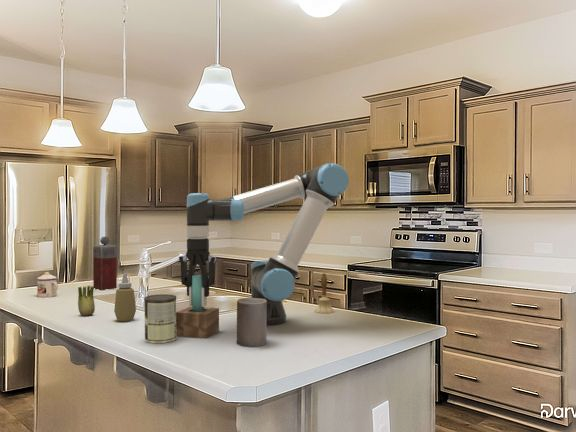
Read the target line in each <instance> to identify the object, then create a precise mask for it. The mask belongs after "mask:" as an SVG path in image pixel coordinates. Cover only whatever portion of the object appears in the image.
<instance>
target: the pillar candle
mask: <svg viewBox="0 0 576 432" xmlns="http://www.w3.org/2000/svg"><path fill="white" fill-rule="evenodd" d="M266 318H267V301H266V300H265V299H261V298H252V296H250V297H245V298H244V297H243V298H239V299H237V300H236V342H235V343H236V344H237V345H239V346H242V347H249V348H251V347H253V348H254V347H259V346H263V345H265V344H266V343H267V325H266Z"/></svg>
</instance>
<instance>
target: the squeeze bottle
mask: <svg viewBox="0 0 576 432" xmlns="http://www.w3.org/2000/svg"><path fill="white" fill-rule="evenodd" d="M135 297H136V296H135V289H134V288H133V287H132V282H130V281H129V278H128V274H127V273H123V275H122V280H121V282H118V288H117V289H115V300H114V301H115V302H114V310H113V311H114V315H115V317H116V320H117V322H130V321H134V318H135V314H136V312H137V307H136V298H135Z"/></svg>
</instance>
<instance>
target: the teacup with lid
mask: <svg viewBox="0 0 576 432" xmlns="http://www.w3.org/2000/svg"><path fill="white" fill-rule="evenodd" d="M36 281H37V284H36V285H37V288H36V289H37V294H36V295H37V297H38V298H50V297H51V298H52V297H57V294H58V293H57V291H58V288H59V285H58V283H57V281H58V277H57V276H55V275H52V274H50V272H49V271H46V272H44V274H41V276H38V277H37V278H36Z"/></svg>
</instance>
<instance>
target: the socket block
mask: <svg viewBox="0 0 576 432" xmlns="http://www.w3.org/2000/svg"><path fill="white" fill-rule="evenodd" d="M219 331H220V308H219V307H209V306H208V307H206V306H204V312H192V306H189V307H186V308H183V309H181V310H178V311H176V337H183V338H199V339H207V338H209V337H211V336H212V335H214V334H216V333H218V332H219Z"/></svg>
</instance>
